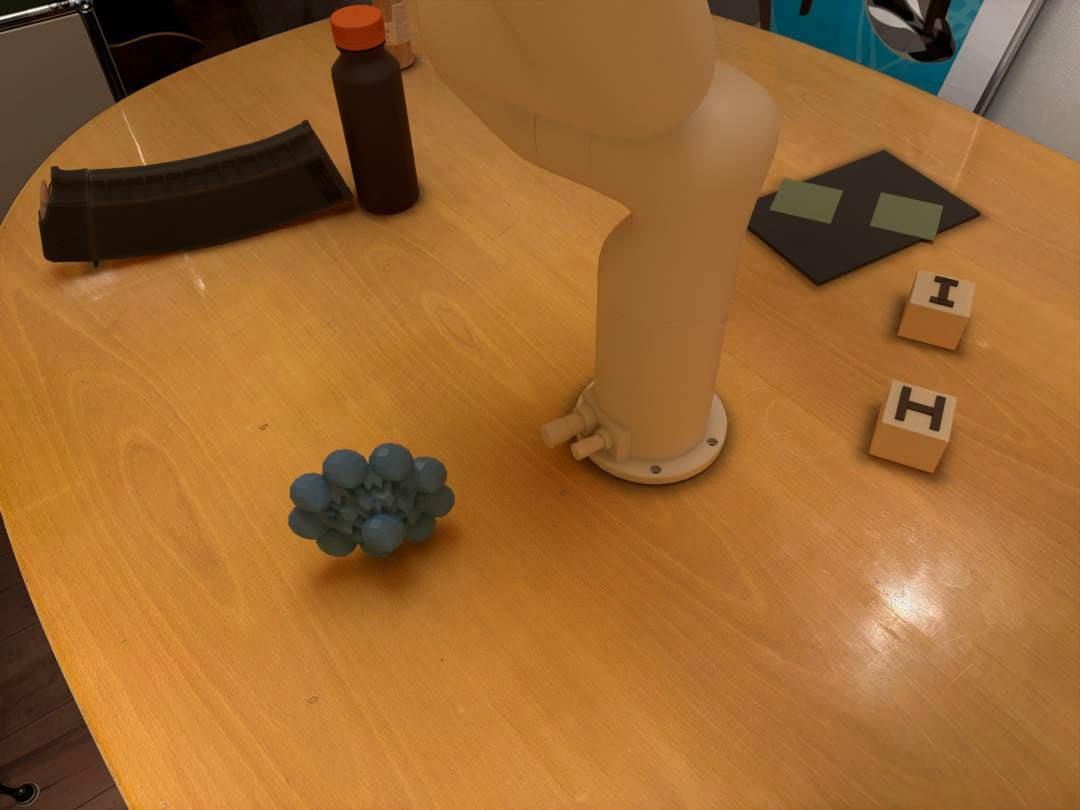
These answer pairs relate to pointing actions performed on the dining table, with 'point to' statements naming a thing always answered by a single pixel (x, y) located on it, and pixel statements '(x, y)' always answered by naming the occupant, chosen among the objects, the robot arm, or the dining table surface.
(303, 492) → the grapes
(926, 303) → the tile
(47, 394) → the dining table surface
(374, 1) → the sprinkles bottle
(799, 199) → the mat
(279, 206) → the magazine
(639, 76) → the robot arm
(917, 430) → the tile
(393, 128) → the vinegar
